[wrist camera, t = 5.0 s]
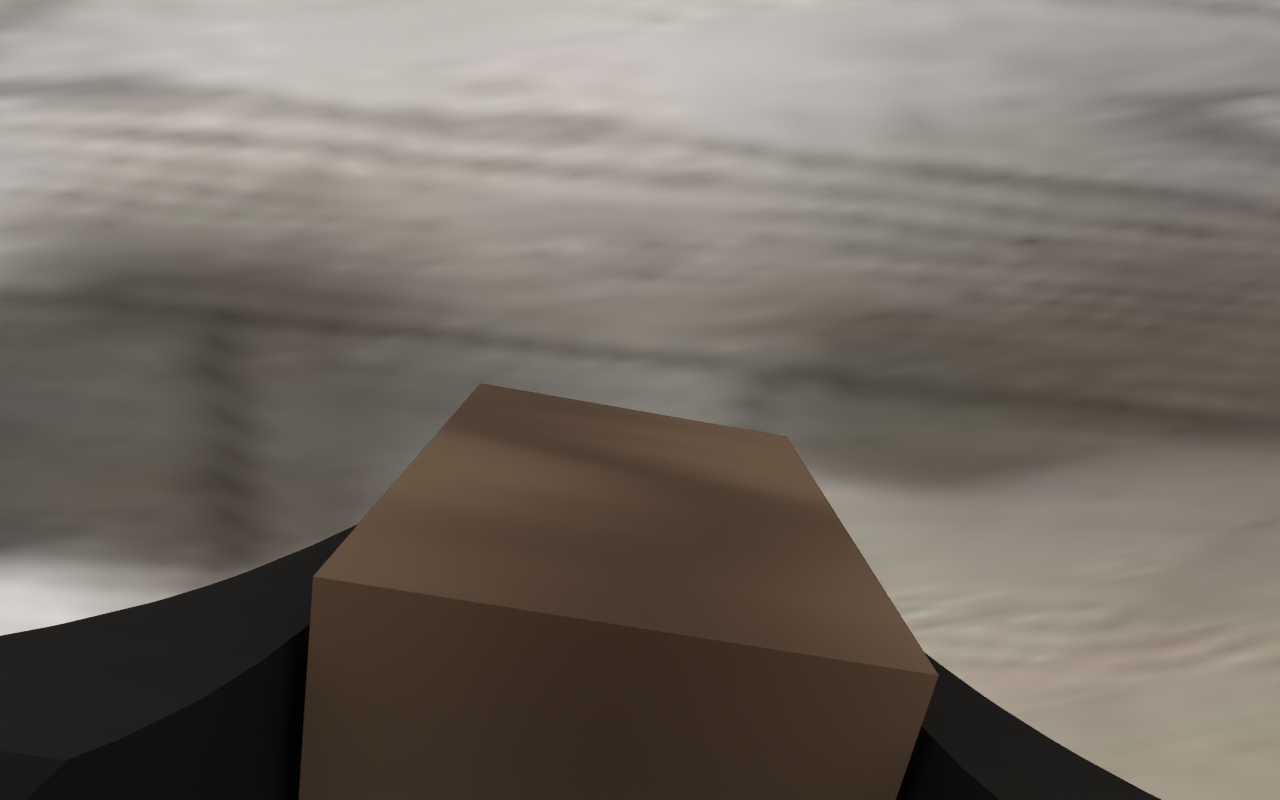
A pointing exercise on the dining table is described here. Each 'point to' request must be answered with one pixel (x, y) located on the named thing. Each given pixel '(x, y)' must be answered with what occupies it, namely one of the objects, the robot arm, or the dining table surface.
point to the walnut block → (605, 622)
